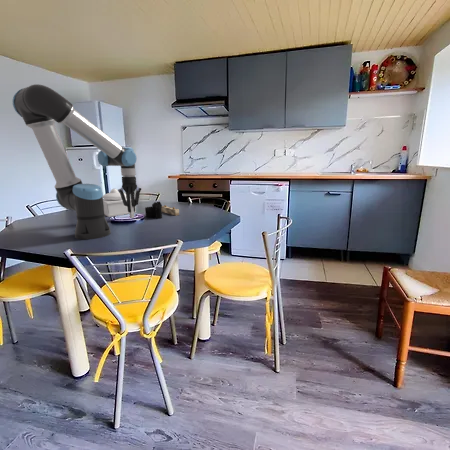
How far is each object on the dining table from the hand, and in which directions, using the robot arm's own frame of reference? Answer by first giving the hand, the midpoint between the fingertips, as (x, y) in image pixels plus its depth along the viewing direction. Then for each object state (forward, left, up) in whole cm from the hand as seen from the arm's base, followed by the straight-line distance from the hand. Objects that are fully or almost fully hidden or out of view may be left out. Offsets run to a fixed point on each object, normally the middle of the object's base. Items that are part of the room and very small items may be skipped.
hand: (132, 217), depth 162 cm
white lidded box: (+26, -2, -2) cm, 26 cm away
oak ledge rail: (0, -25, -1) cm, 25 cm away
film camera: (-2, -13, -1) cm, 13 cm away
